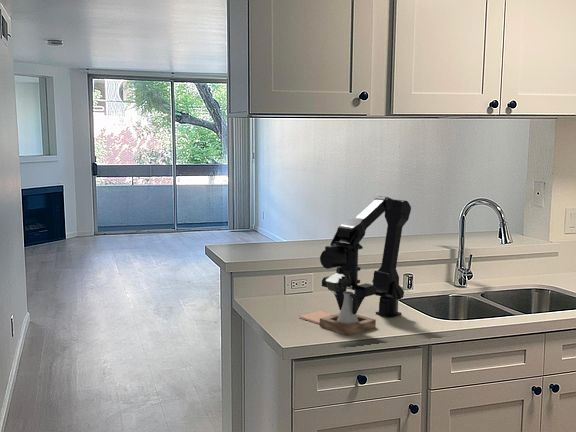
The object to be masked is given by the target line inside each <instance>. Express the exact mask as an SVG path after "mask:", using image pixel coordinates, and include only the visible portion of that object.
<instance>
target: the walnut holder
mask: <svg viewBox="0 0 576 432" xmlns="http://www.w3.org/2000/svg"><path fill="white" fill-rule="evenodd" d="M339 314H340V312H338V313H334V314H333V315H331V316H327V317H324V318H320V324H319V327H321V328H324V329H328V330H331V331H333V332H336V333H340V334H343V335H346V336H352V335H355V334H359V333H363V332H364V331H369V330H371V329H374V328H376V325H377V324H376V321H377V319H374V318H371V317H367V316H364V315H361V314H357V313H356V315H357V318H358V321H359V322H357V323H354V324H350V325H347V324H344V323H341V322H338V321H337V319H338V316H339Z"/></svg>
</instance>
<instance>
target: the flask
mask: <svg viewBox="0 0 576 432" xmlns="http://www.w3.org/2000/svg"><path fill="white" fill-rule="evenodd" d="M343 294H344V301H343V305H342V308H341V310H339V313H340V314H339V316H338V319H337V321H338V322H341V323H344V324H347V325H350V324H354V323H357V322H359V321H358V318H357V315H356V314H357V313H356V314H353V299H352V297H351V296H350V294H354V292H353V291H348V290H346V291H345V292H343Z"/></svg>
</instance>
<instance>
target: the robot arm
mask: <svg viewBox="0 0 576 432" xmlns="http://www.w3.org/2000/svg"><path fill="white" fill-rule="evenodd" d="M411 210H412V206H411V205H410V202H409V201H407V200H402V199H393V198H391V197H389V196H376V197H375V198H374V200H373V201H372V202H371V203H370V204H369V205H368V206H367V207H366V208H364V209H363V210H362V211H361V212H360V213H359V214H358V215H357V216H356V217H354V218H352V219H349V220H346V221H345V222H343V223H342V224H339V226H338V227H337V230H336V232H335V234H334V236H333V238H332V240H331V242H330V245H326V246H325V247H324V250H323V251H322V252H321V254H320V256H319V260H320V261H319V262H320V264H321V266H322V267H323V268H325V269H327V270H328V269H333V268H336V270H335V271H336V272H335V273H334V274H331V275H329V276H325V277H323V278H322V280H321V287H324V288H327V289H328V291H330V292H332V294H334V297H335V299H336V300H335V301H336V303H337V306H338V308H339V311H341V308H342V305H343V301H344V294H343V292H345V291H347V289H348V290H352V291H354V292H353V294H350V296H351V297H352V300H353V314H357V312H358V310H359V309H360V306H361V305H362V302H363V301H364V299H365V298H367V297H370V296H374V295H375V296H378V297H379V302H378V311H376V312H375V315H379V316H382V317H386V318H394V317H397V316H401V315H402V312H401V311H399V301H400V300H402V299H403V298H404V296H405V291H404V290H403V288H402V286H401V285H400V283H399V282H400V276H399V273H398V270H397V265H398V257H399V251H400V244H401V238H402V232H403V227H404V226H405V225H406V223H407V222H408V221H409V218H410V214H411ZM383 213H384V218H385V221H386V224H387V228H386V232H385V233H386V234H385V239H384V240H385V241H384V247H383V254H382V260H381V266H380V267H379V269H378V270H374V271H373V277H372V280H371V281H372V284H370V283H362V284H361V279H358V276H359V274H358V273H359V271H361V266H359V250H363V248H364V247H363V246H362V244H360V242H361V241H362V239H363V238H364V237H365V235H366V232H367V231H366V230H367V229H368V228H369V227H370V226H371V225H372V224H373V223H374V222H375V221H376V220H378V218H379V217H381V216H382V215H383Z"/></svg>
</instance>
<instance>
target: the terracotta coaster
mask: <svg viewBox="0 0 576 432" xmlns="http://www.w3.org/2000/svg"><path fill="white" fill-rule="evenodd" d="M331 315H334V314H333V313H329V312H325V311H324V310H317V311H313V312H311V313H306V314H302V315H300V316H299V318H300V319H302V320H305V321H308V322H311V323H314V324H318V325H320V318H324V317H327V316H331Z"/></svg>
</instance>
